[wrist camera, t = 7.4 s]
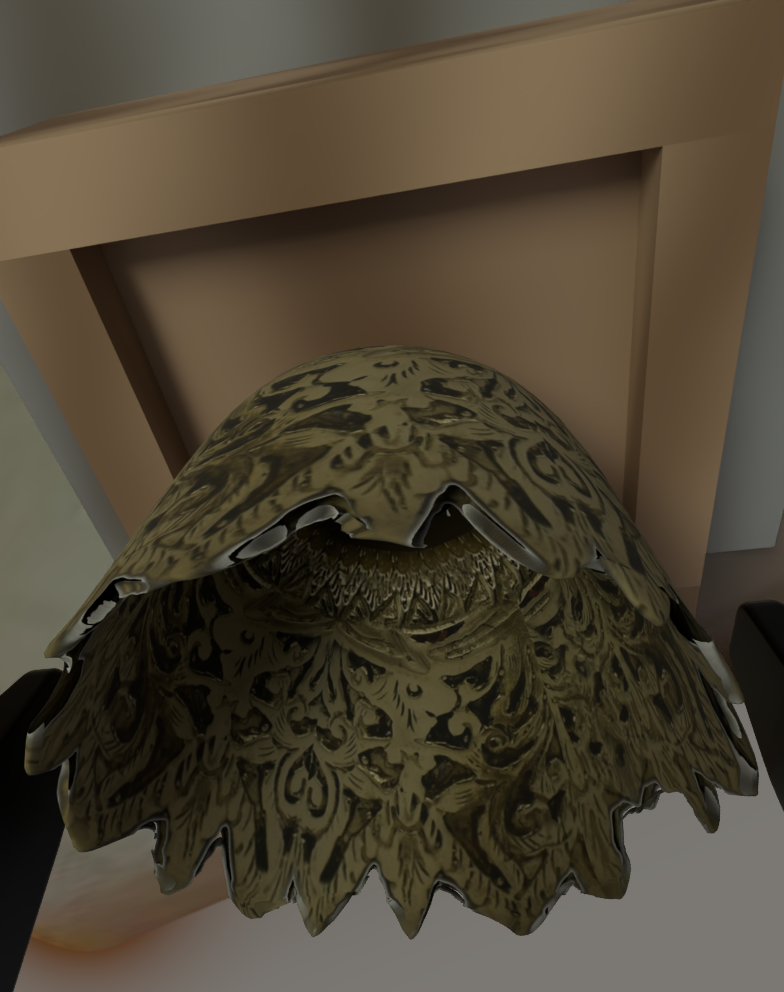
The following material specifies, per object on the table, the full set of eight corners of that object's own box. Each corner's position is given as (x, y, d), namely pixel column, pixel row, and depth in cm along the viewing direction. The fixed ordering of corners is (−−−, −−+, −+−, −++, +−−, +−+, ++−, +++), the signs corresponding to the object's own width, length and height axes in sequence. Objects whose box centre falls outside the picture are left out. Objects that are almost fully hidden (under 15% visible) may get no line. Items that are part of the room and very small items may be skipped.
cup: (462, 596, 16) (494, 984, 10) (169, 486, 14) (-22, 876, 8) (667, 346, 12) (946, 735, 6) (293, 144, 10) (102, 395, 4)
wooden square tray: (906, -203, 11) (1265, -343, 7) (753, 514, 21) (854, 670, 16) (-135, 31, 14) (-427, 53, 9) (156, 579, 23) (91, 730, 18)
